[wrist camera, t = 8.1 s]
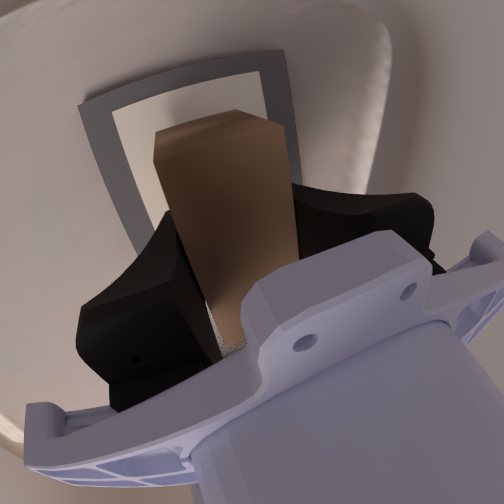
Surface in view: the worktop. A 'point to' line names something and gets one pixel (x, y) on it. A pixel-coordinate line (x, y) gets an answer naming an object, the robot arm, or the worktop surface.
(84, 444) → the robot arm
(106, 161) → the mat
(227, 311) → the block
